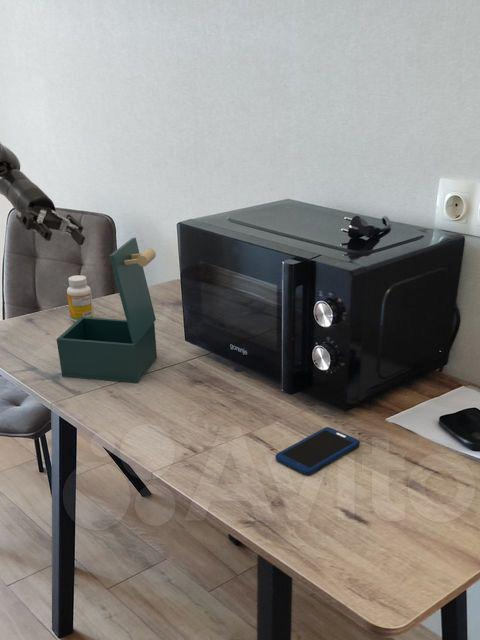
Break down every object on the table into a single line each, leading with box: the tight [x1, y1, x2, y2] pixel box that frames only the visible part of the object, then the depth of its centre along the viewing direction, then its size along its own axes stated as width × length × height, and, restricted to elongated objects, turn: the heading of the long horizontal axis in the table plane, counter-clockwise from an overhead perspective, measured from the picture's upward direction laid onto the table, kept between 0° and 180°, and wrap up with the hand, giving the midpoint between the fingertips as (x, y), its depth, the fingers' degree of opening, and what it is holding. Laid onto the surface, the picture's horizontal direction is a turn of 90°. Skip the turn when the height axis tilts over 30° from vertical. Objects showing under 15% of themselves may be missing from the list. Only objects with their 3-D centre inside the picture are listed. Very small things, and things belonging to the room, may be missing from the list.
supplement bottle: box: [66, 274, 95, 323], centre depth 163 cm, size 5×5×10 cm
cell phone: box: [274, 426, 361, 475], centre depth 115 cm, size 7×14×1 cm, turn 137°
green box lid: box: [108, 237, 157, 343], centre depth 133 cm, size 16×13×5 cm
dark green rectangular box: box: [55, 317, 158, 384], centre depth 141 cm, size 16×13×8 cm
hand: (66, 239), depth 157 cm, fingers open, 8 cm apart
